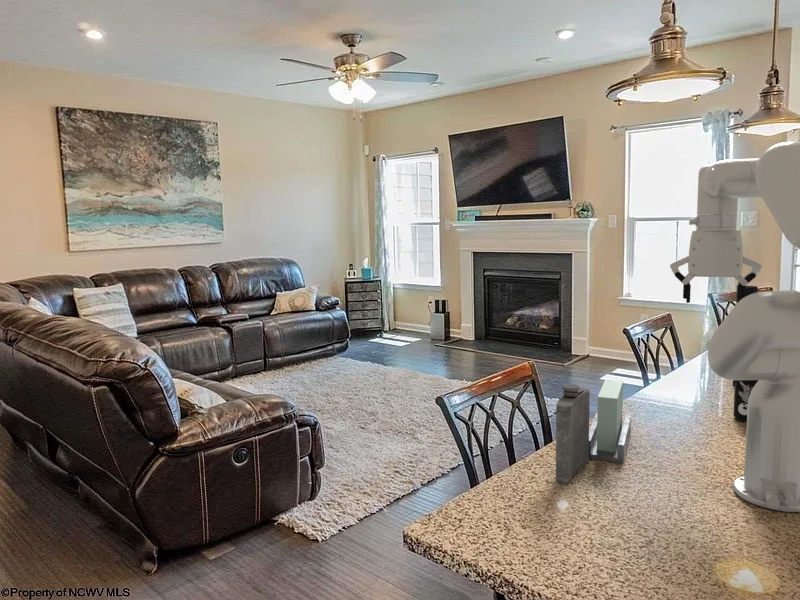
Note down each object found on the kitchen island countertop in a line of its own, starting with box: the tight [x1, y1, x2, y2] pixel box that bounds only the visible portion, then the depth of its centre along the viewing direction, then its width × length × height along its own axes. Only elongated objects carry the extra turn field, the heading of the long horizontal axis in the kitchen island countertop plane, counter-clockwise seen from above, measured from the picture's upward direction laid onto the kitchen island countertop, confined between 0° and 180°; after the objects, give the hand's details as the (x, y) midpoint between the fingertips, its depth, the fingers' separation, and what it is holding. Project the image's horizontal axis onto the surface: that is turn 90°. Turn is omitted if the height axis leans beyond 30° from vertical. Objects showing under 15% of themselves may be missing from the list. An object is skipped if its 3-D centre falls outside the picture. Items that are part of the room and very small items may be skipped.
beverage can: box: [733, 380, 758, 424], centre depth 144 cm, size 7×7×12 cm
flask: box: [555, 383, 591, 485], centre depth 117 cm, size 4×14×18 cm, turn 145°
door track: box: [589, 411, 632, 464], centre depth 131 cm, size 20×8×4 cm, turn 154°
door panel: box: [596, 379, 624, 452], centre depth 131 cm, size 14×4×12 cm, turn 154°
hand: (712, 302), depth 125 cm, fingers open, 9 cm apart
